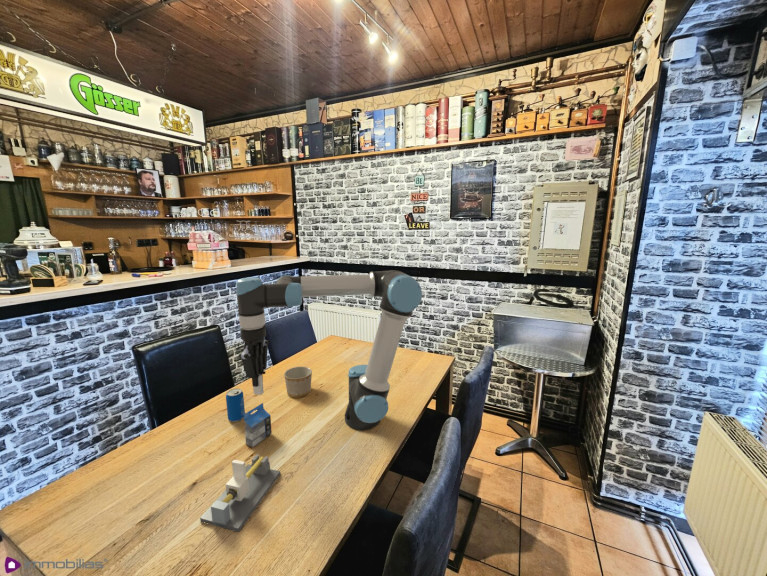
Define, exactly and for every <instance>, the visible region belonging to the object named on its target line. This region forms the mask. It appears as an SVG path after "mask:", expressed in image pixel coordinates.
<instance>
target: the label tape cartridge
mask: <svg viewBox="0 0 767 576" xmlns="http://www.w3.org/2000/svg"><path fill="white" fill-rule="evenodd" d="M243 420H244V421H243V422H244V424H243V425H244V436H245V445H246V446H249V447H250V448H254V447H256V446H257V445H259V444H260V443H261V442H263V441H264V440H265V439H267V438H268V437H270V436H271V435H272V431H273V430H272V418H271V414H270V413H268V411H267V410H265V409H264V403H260V404H258V405H257V406H255V407H254V408H252V409H250V410H248V411H247V412H245V414H244V417H243Z"/></svg>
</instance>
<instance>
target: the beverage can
mask: <svg viewBox="0 0 767 576" xmlns="http://www.w3.org/2000/svg"><path fill="white" fill-rule="evenodd" d="M244 398H245V397H244V392H243V390H242V388H237V387H236V388H232V389H230V390H228V391H227V392H226V395H225V402H226V413H227V419H228V421H230V422H232V423H233V422H234V423H236V422H240V421H241V420H243V419H244V414H245V413H246V411H245V410H246V409H245V399H244Z"/></svg>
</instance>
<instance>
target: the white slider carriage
mask: <svg viewBox="0 0 767 576" xmlns="http://www.w3.org/2000/svg"><path fill="white" fill-rule="evenodd" d="M231 467H232V477H230V479H229V480H228V481H227V482H226V483H225V490H226V493H228V492H229V491H230V490H231V489H235V490H237V495H236V497H235V498H234V499H233V500H237V501H242V499H243V498H244V497H245V496H246V494H247V493H248V492H249V484H248V478H247V477H246V461H242V460H237V459H234V460H232V461H231Z"/></svg>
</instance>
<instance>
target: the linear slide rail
mask: <svg viewBox="0 0 767 576" xmlns="http://www.w3.org/2000/svg"><path fill="white" fill-rule="evenodd" d="M270 465H271V464H270V460H269V456H264V457H263V456H260V454H255V455H254V456H253V458H252V459H251V464H249V463H248V464H247V465H245V467H246V477H247V478H248V484H249V492H248V493H247V494H246V496H245V497H244V498H243V499H242V501H237V500H233V499H234V498H235V497H236V495H237V490H235V489H231V490H230V491H229V492H228V493H226V489H225V490H223V491H222V493H221V494H220V495H219V496H218V497H217V499H215V501H214V502H213V503H212V504H211V505H210V506H209V507H208V509H207V510H206V511H205V512H204V513H203V514H202V515H201V516H200V518H199V519H200V520H199V521H200V522H201V523H204V522H205V524H207V523H208V525H212V526H215V527H219V528H221V529H226V530H229V531H233V532H236V533H239V532H240V531H241V530H242V528H243V527H244V525H246V523H247V522H248V520H249V518H250V517H251V516H252V514H253V513H254V512H255V511H256V509H257V508H258V506H259V505H260V503H262V501H263V499H264V498H265V496H266V495H267V494H268V492H269V491H270V490H271V489H272V487H273V486H274V484H275V483H276V482H277V481H278V478H279V477H280V476H281V470H278V469H277V470H276V469H271V466H270Z"/></svg>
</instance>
